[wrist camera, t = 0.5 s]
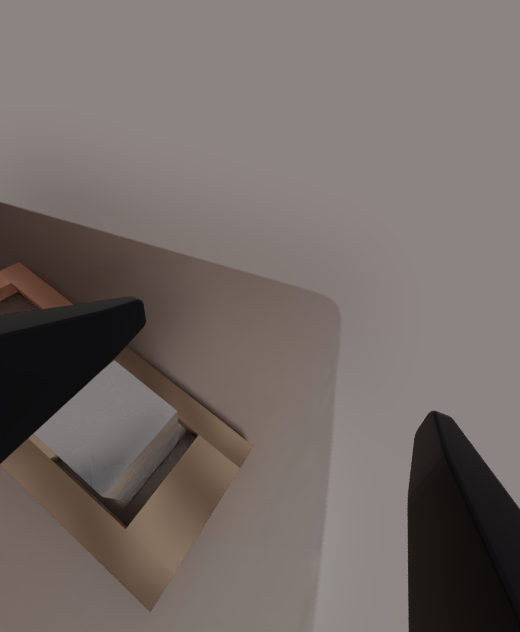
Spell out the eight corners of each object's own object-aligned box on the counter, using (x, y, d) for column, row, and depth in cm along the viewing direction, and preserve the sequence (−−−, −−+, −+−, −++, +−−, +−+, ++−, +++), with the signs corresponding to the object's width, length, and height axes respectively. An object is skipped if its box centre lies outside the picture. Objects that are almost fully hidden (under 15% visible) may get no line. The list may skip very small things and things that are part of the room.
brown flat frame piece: (152, 605, 16) (150, 612, 15) (-118, 342, 20) (-134, 334, 19) (250, 449, 22) (253, 446, 21) (24, 270, 26) (19, 261, 25)
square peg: (130, 501, 18) (101, 496, 12) (81, 457, 19) (30, 430, 12) (178, 441, 21) (177, 410, 14) (134, 404, 21) (114, 360, 15)
